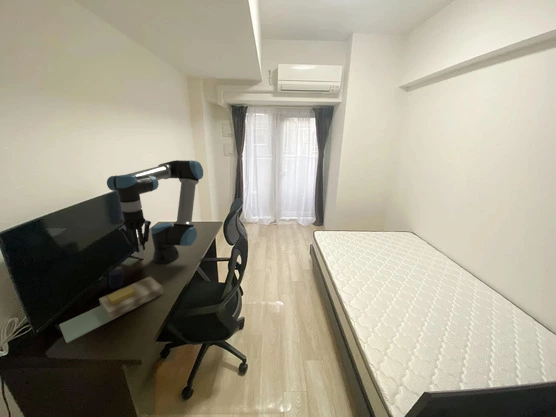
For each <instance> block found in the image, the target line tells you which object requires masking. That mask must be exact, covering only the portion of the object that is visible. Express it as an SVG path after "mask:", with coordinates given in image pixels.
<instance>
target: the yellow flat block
mask: <svg viewBox="0 0 556 417" xmlns="http://www.w3.org/2000/svg"><path fill="white" fill-rule="evenodd" d="M127 286H128V287H127ZM127 286H125V287H126V288H124V287H123V288H124V289H122V288H120V289H121V290H120V289H118V290H119V291H118V290H116V291H117V292H115V291H114V292H115V293H113V292H111V293H112V294H111V293H109V294H110V295H108V294H107V295H108V300H109V301H110V302H111V303H112V305H114V304H116V303H119V302H121V301H123V300H125V299H127V298H129V297H131V296H133V295H135V290H134V289H133V288H132V287H131V286H129V285H127Z"/></svg>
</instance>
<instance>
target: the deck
mask: <svg viewBox="0 0 556 417" xmlns="http://www.w3.org/2000/svg"><path fill="white" fill-rule="evenodd" d="M128 286H131V287H132V288H133V289H134V290H135V295H133V296H131V297H129V298H127V299H125V300H123V301H121V302H119V303H116V304H114V305H112V303H111V302H110V301H109V300H108V295H110V294H112V293H115V292H117V291H119V290H121V289H124V288H126V287H128ZM164 293H165V292H164V288H163V286H162V284H160V283H159V282H158V281H156V279H154V278H152V277H151V276H148V277H145V278H142V279H141V280H138V281H136V282H134V283H132V284H129V285H127V286H125V287H122V288H120V289H118V290H116V291H113V292H111V293H109V294H106V295H103V296H102V297H100V298H98V300H99V301H98V302H99V304H100V305H99V306H101V307H102V308H103V309H104V311H105V312H106V314H107V315H108V316H109V318H110V319H111V321H113V320H115V319H116V318H119V317H121V316H123V315H124V314H127V313H128V312H131V311H133V310H134V309H136V308H138V307H140V306H142V305H143V304H147V303H148V302H150V301H152V300H154V299H155V298H158V297H160V296H162V295H163V294H164Z"/></svg>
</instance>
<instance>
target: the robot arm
mask: <svg viewBox="0 0 556 417" xmlns="http://www.w3.org/2000/svg"><path fill="white" fill-rule="evenodd" d="M203 177H204V168H203V166H202V164H201V163H200V162H199V160H192V159H190V160H178V159H177V160H171V161H167V162H163V163H159V165H157V166H154V167H150V168H147V169H143V170H138V171H134V172H131V173H127V174H126V173H125V174H120V175H118V174H117V175H112V176H111V175H110V176H109V177H108V178H107V180H106V186H107V188H108V189H109V190H111V191H112V192H117V193H118V198H119V202H120V206H121V211H122V217H123V225H122V226H120V227H118V231H120V232H121V233H122V235H123V236H124V238H125V240H126V242H127V243H128V245H129V246H131V247H134V251H135V252H136V253H137V254H138V258H140V259H143V258H145V252H144V251H145V250H146V246H145V245H146V243H147V242H149V235H150V234H151V238H152V244H153V248H154V249H153V256H152V261H153V262H154V264H158V265H159V264H160V265H163V264H169V263H171V262H174V261H176V260H177V259H178V258H179V256H180V253H179V250H178V249H177V247H176V246H182V247H189V246H191V245H193V244H194V243H195V241H196V239H197V235H198V231H197V229H196V227H195V224H194V223H193V222H192V221H193V215H194V214H193V211H194V203H195V193H196V187H197V186H196V185H198V184H199V180H202V179H203ZM168 179H178V181H179V182H180V183H181V184H180V191H179V199H178V200H179V201H178V206H177V217H176V221H174V222H173V224H172V223H171V222H170V221H169V222H161V223H158V224H156V225H154V226H152V227H151V229H150V226H151V224H152V221H150V220H146V219H145V217H144V212H143V209H142V208H143V207H142V202H141V201H142V200H141V196H140V195H142V194H146V193H150V192H153V191H155V190H157V189H158V187H159V185H160V184H159V181H160V180H168ZM143 226H144V228H143ZM127 229H128V230H130V233H131V237H130V235H129V233H128V231H127ZM150 232H151V233H150ZM131 238H132V239H131Z"/></svg>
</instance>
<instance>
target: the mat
mask: <svg viewBox="0 0 556 417" xmlns="http://www.w3.org/2000/svg"><path fill="white" fill-rule="evenodd" d="M111 321H112V320H111V319H110V318H109V316H108V315H107V314H106V312H105V311H104V309H103V308H102V307H101V305H99V306H97V307H95V308H92V309H90V310H89V311H85V312H84V313H81V314H79V315H77V316H75V317H73V318H70V319H68V320H66V321H64V322H62V323H61V322H60V324H59V325H58V326H59V328H60V331H61V333H62V335H63V338H64V341H65V343H66V344H68V343H71V342H72V341H74V340H76V339H79V338H80V337H82V336H84V335H87V334H88V333H90V332H92V331H93V330H95V329H98V328H99V327H101V326H103V325H105V324H107V323H109V322H111Z"/></svg>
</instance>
